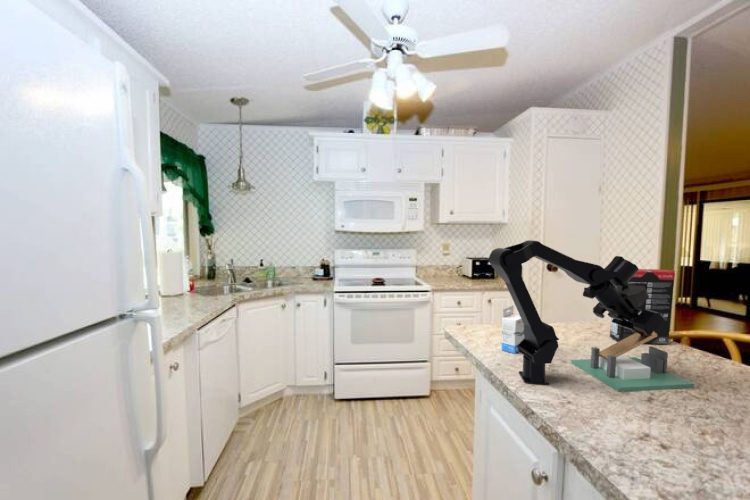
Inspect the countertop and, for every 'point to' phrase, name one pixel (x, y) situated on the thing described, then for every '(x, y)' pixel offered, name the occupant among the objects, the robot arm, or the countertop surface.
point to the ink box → (511, 330)
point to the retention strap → (626, 345)
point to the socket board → (635, 383)
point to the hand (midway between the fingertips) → (642, 333)
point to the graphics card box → (651, 302)
